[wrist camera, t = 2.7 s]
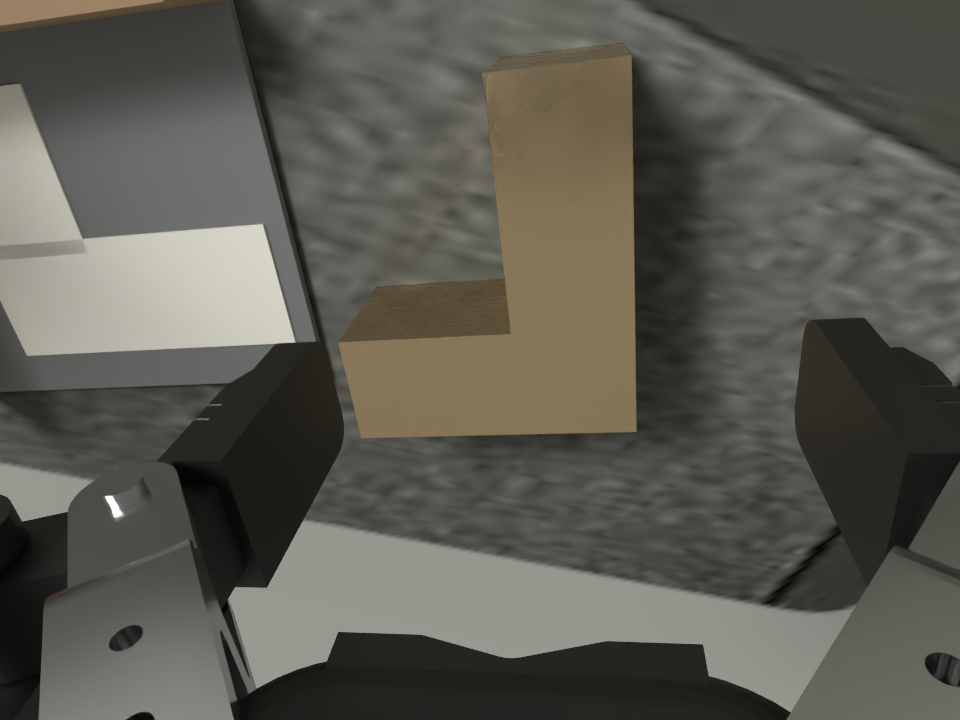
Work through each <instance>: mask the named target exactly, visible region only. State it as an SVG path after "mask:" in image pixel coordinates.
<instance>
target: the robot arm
mask: <svg viewBox="0 0 960 720" xmlns="http://www.w3.org/2000/svg"><path fill="white" fill-rule="evenodd" d="M795 425H796V432H797V437H798V441H799V444H800V446H801V448H802V451H803V453H804V455H805V457H806V459H807V461H808V463H809V465H810V467H811V470H812V472H813V474H814V476H815V478H816V480H817V482H818V484H819V486H820V489H821V491H822V493H823V495H824V497H825V499H826V501H827V503H828V505H829V507H830V510H831V512H832V514H833V516H834V518H835V520H836V522H837V524H838V526H839V529H840V531H841V533H842V535H843V537H844V539H845V541H846V543H847V545H848V548H849V550H850V552H851V554H852V556H853V558H854V560H855V562H856V564H857V567H858V569H859V571H860V573H861V575H862V577H863V579H864V581H865V583H866V586H867V589H866V591H865V592H864V594H863V595H862V597H861V599H860V600H859V602H858V604H857V605H856V607H855V609H854V610H853V612H852V613H851V615H850V617H849V618H848V620H847V622H846V623H845V625H844V627H843V628H842V630H841V631H840V633H839V635H838V636H837V638H836V640H835V641H834V643H833V644H832V646H831V648H830V650H829V651H828V653H827V654H826V656H825V658H824V659H823V661H822V662H821V664H820V666H819V667H818V669H817V671H816V672H815V674H814V676H813V677H812V679H811V681H810V682H809V684H808V685H807V687H806V689H805V690H804V692H803V694H802V695H801V697H800V698H799V700H798V702H797V703H796V705H795V707H794V708H793V710H792V711H791V712H789V711H787V710H786V709H784V708H783V707H781V706H779V705H778V704H776V703H774V702H773V701H771V700H768V699H766V698H765V697H763V696H761V695H758V694H756V693H754V692H752V691H750V690H748V689H745V688H743V687H740V686H738V685H735V684H732V683H730V682H727V681H724V680H720V679H717V678H713V677H710V676H708V671H707V665H706V659H705V654H704V648H703V645H699V644H698V645H697V644H670V643H640V642H611V641H607V642H600V643H595V644H590V645H584V646H580V647H574V648H568V649H563V650H558V651H553V652H547V653H542V654H537V655H532V656H526V657H521V658H503V657H498V656H495V655H491V654H488V653H484V652H481V651H477V650H473V649H470V648H466V647H463V646H459V645H456V644H452V643H448V642H445V641H441V640H438V639H434V638H431V637H427V636H423V635H407V634H378V633H349V632H347V633H346V632H338V634H337V637H336V640H335V642H334V645H333V647H332V650H331V653H330V655H329V658H328V660H327V662H323V663H319V664H315V665H311V666H308V667H305V668H301V669H298V670H296V671H293V672H291V673H288V674H286V675H283V676H281V677H279V678H276V679H274V680H273V681H271V682H269V683H267V684H265V685H263V686H261V687H259V688H257V689H256V686H255V682H254V679H253V676H252V672H251V669H250V666H249V662H248V659H247V656H246V652H245V649H244V646H243V643H242V639H241V636H240V633H239V629H238V626H237V622H236V619H235V616H234V613H233V610H232V608H231V605H230V603H229V600H228V598H229V596H230V595H231V593H232V591H233V589H234V588H235V587H260V588H261V587H262V588H267V586H268V584H269V583H270V581H271V579H272V577H273V575H274V573H275V571H276V570H277V568H278V566H279V564H280V562H281V560H282V558H283V556H284V555H285V552H286V551H287V549H288V547H289V545H290V543H291V541H292V539H293V538H294V536H295V534H296V532H297V530H298V528H299V527H300V525H301V523H302V521H303V519H304V517H305V515H306V514H307V512H308V510H309V508H310V506H311V504H312V502H313V500H314V499H315V497H316V495H317V493H318V491H319V489H320V487H321V486H322V484H323V482H324V480H325V478H326V476H327V474H328V472H329V471H330V469H331V467H332V465H333V463H334V461H335V459H336V457H337V456H338V454H339V452H340V450H341V447H342V443H343V436H344V423H343V416H342V412H341V408H340V404H339V400H338V396H337V392H336V388H335V384H334V380H333V376H332V372H331V368H330V364H329V360H328V356H327V353H326V350H325V348H324V346H323V345H322V344H321V343H320V342H317V341H316V342H294V343H277V344H275V345H274V346H273V347H272V348H271V349H270V351H269V352H268V353H267V354H266V355H265V356H264V357H263V358H262V360H261V361H260V362H259V363H258V364H257V365H256V366H255V368H254V369H253V370H252V371H249V372H247V373H246V374H244V375H242V376H241V377H239V378H238V379H236V380H234V381H233V382H231V383H230V384H228V385H227V386H225V387H224V388H223V389H222V390H221V392H220V393H219V394H218V395H217V396H216V397H215V398H214V399H213V400H212V401H211V402H210V407H206V408H205V409H204V410H203V411H202V412H201V413H200V415H199V416H198V417H197V421H193V422H192V423H191V424H190V425H189V427H188V428H187V429H186V430H185V431H184V432H183V433H182V434H181V435H180V436H179V437H178V439H177V440H176V441H175V442H174V443H173V444H172V445H171V446H170V447H169V448H168V450H167V451H166V452H165V453H164V454H163V455H162V456H161V457H160V458H159V459H158V460H157V462H142V463H136V464H132V465H128V466H125V467H122V468H119V469H117V470H114V471H112V472H110V473H108V474H105V475H103V476H102V477H100V478H98V479H96V480H95V481H93V482H92V483H90V484H89V485H88V486H86V487H85V488H84V489H83V490H81V491H80V492H79V493H78V494H77V495H76V497H75V498H74V499H73V501H72V502H71V504H70V506H69V508H68V512H66V513H61V514H56V515H52V516H47V517H42V518H38V519H33V520H29V521H24V522H22V521H21V519H20V517H19V515H18V514H17V512H16V510H15V508H14V507H13V505H12V503H11V501H10V500H9V499H8V498H7V497H5V496H3V495H0V720H960V391H959V390H958V389H957V387H952V382H951V381H950V380H949V379H948V378H947V377H946V376H945V375H944V374H943V373H942V372H941V370H940V369H939V368H938V367H937V366H936V365H935V364H934V363H932V362H930V361H928V360H927V359H925V358H923V357H921V356H919V355H917V354H915V353H913V352H911V351H909V350H907V349H905V348H904V347H894V348H890V347H889V346H888V345H887V344H886V342H885V341H884V340H883V339H882V338H881V337H880V335H879V334H878V333H877V332H876V331H875V330H874V328H873V327H872V326H871V325H870V324H869V323H868V321H867V320H866V319H864V318H843V319H821V320H810V321H809V322H808V323H807V325H806V327H805V331H804V336H803V343H802V352H801V360H800V369H799V377H798V386H797V394H796V403H795Z"/></svg>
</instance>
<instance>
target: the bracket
mask: <svg viewBox="0 0 960 720" xmlns="http://www.w3.org/2000/svg"><path fill="white" fill-rule="evenodd" d="M483 80H484V90H485V99H486V108H487V117H488V127H489V136H490V145H491V154H492V164H493V173H494V182H495V191H496V201H497V210H498V219H499V228H500V238H501V247H502V256H503V265H504V275H505V279H497V280H481V281H465V282H449V283H433V284H417V285H401V286H385V287H376V289H375V290H374V292H373V293H372V295H371V296H370V298H369V299H368V300H367V302H366V303H365V305H364V306H363V308H362V309H361V311H360V312H359V313H358V315H357V316H356V318H355V319H354V321H353V322H352V323H351V325H350V326H349V328H348V329H347V331H346V332H345V334H344V335H343V336H342V338H341V339H340V341H339V342H338V343H339V347H340V351H341V356H342V360H343V364H344V368H345V372H346V376H347V380H348V385H349V389H350V393H351V397H352V401H353V405H354V409H355V413H356V418H357V422H358V426H359V430H360V434H361V438H387V437H432V436H477V435H522V434H566V433H611V432H637V430H636V351H635V273H634V194H633V115H632V55H631V54H630V53H629V51H628V50H627V49H626V47H625V46H624V45H623V43H617V44H609V45H600V46H592V47H584V48H575V49H567V50H559V51H550V52H542V53H534V54H525V55H517V56H509V57H502V58H500V59H499V60H498V61H497V62H495V63H494V64H493V65H492V66H491V67H489V68H488V69H487V70H486V71H484V72H483Z"/></svg>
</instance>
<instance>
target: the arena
mask: <svg viewBox="0 0 960 720" xmlns="http://www.w3.org/2000/svg"><path fill="white" fill-rule="evenodd" d="M316 341H317V342H320V343H321V341H320V337H319V334H318V330H317V326H316V322H315V318H314V314H313V310H312V306H311V302H310V298H309V294H308V291H307V287H306V283H305V279H304V275H303V271H302V267H301V263H300V259H299V255H298V252H297V248H296V244H295V240H294V236H293V232H292V228H291V224H290V220H289V216H288V212H287V209H286V205H285V201H284V197H283V193H282V189H281V185H280V181H279V177H278V173H277V169H276V166H275V162H274V158H273V154H272V150H271V146H270V142H269V138H268V134H267V130H266V126H265V123H264V119H263V115H262V111H261V107H260V103H259V99H258V95H257V91H256V87H255V83H254V80H253V76H252V72H251V68H250V64H249V60H248V56H247V52H246V48H245V44H244V40H243V37H242V33H241V29H240V25H239V21H238V17H237V13H236V9H235V5H234V1H233V0H0V392H11V391H37V390H63V389H89V388H115V387H141V386H167V385H193V384H219V383H231V382H233V381H234V380H236V379H238V378H239V377H241V376H242V375H244V374H246V373H247V372H249V371H252V370H253V369H254V368H255V366H256V365H257V364H258V363H259V362H260V361H261V360H262V358H263V357H264V356H265V355H266V354H267V353H268V352H269V351H270V349H271V348H272V347H273V346H274V345H275V344H277V343H294V342H316Z"/></svg>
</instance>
